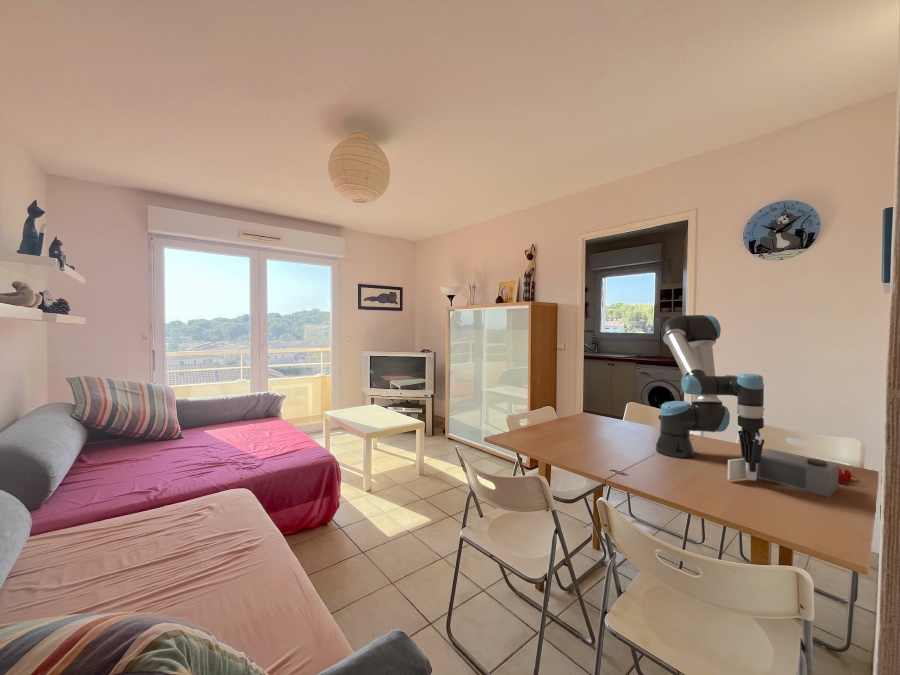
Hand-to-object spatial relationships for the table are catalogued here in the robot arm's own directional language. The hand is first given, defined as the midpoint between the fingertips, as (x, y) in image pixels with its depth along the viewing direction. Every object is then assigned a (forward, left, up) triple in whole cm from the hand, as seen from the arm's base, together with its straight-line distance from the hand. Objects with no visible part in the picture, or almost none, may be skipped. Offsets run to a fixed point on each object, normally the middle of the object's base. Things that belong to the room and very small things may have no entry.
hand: (750, 479), depth 139 cm
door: (-3, +2, -1) cm, 4 cm away
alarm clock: (+15, +31, -2) cm, 35 cm away
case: (+9, +15, -2) cm, 18 cm away
